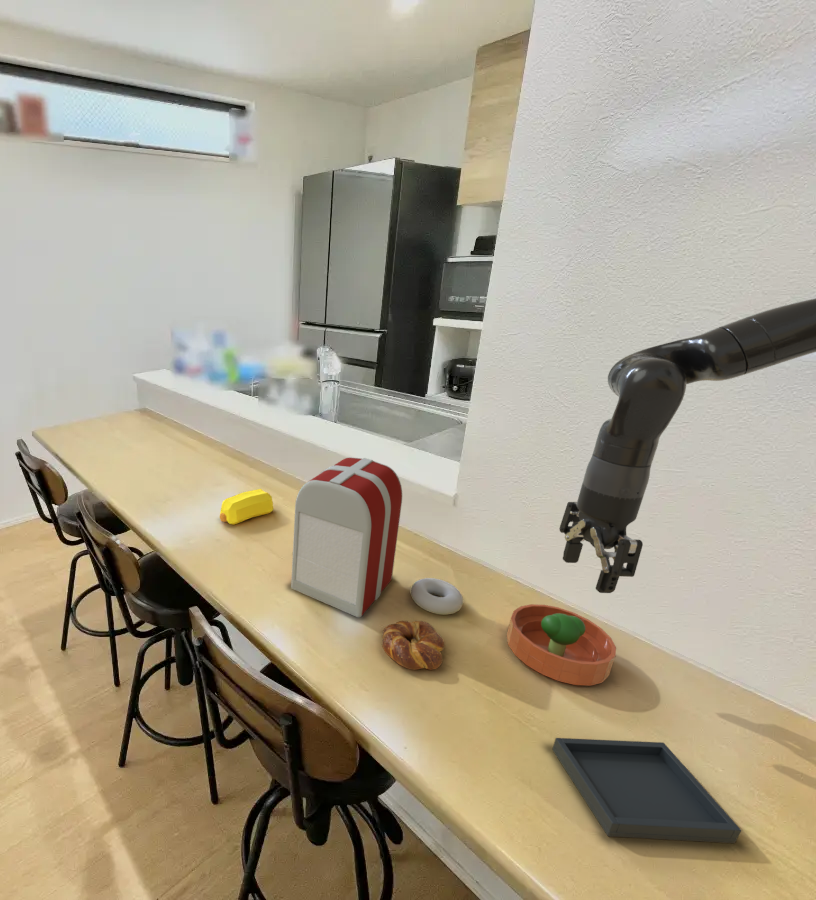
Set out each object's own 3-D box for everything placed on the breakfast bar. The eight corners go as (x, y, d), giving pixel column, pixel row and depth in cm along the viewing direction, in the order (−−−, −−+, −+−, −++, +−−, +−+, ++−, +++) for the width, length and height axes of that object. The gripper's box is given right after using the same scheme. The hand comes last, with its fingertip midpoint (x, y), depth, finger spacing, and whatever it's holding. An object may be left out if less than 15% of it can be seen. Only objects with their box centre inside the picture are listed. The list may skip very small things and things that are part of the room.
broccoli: (566, 642, 90) (576, 607, 87) (584, 663, 85) (596, 627, 82) (528, 640, 90) (536, 606, 88) (544, 662, 85) (554, 626, 83)
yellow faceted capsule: (280, 512, 140) (263, 502, 147) (281, 491, 138) (264, 482, 144) (228, 530, 131) (212, 518, 137) (228, 507, 129) (212, 497, 135)
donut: (406, 585, 108) (412, 614, 98) (408, 572, 107) (414, 599, 97) (456, 592, 105) (466, 621, 96) (458, 578, 104) (469, 606, 95)
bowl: (572, 627, 95) (579, 605, 93) (630, 690, 80) (639, 665, 79) (491, 624, 95) (496, 603, 94) (534, 686, 81) (540, 662, 80)
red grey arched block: (393, 578, 110) (408, 466, 101) (360, 618, 97) (374, 494, 88) (326, 553, 120) (334, 449, 111) (288, 587, 107) (294, 473, 98)
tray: (658, 754, 70) (663, 742, 69) (735, 843, 59) (741, 830, 58) (551, 749, 71) (555, 737, 70) (607, 836, 60) (612, 823, 59)
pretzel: (396, 619, 97) (398, 604, 96) (454, 645, 90) (457, 629, 89) (369, 653, 89) (371, 636, 87) (431, 684, 82) (434, 667, 80)
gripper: (676, 507, 69) (642, 604, 74) (606, 469, 82) (581, 553, 88) (620, 506, 69) (590, 602, 75) (559, 468, 82) (538, 552, 88)
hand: (585, 575), depth 81 cm, fingers open, 8 cm apart
